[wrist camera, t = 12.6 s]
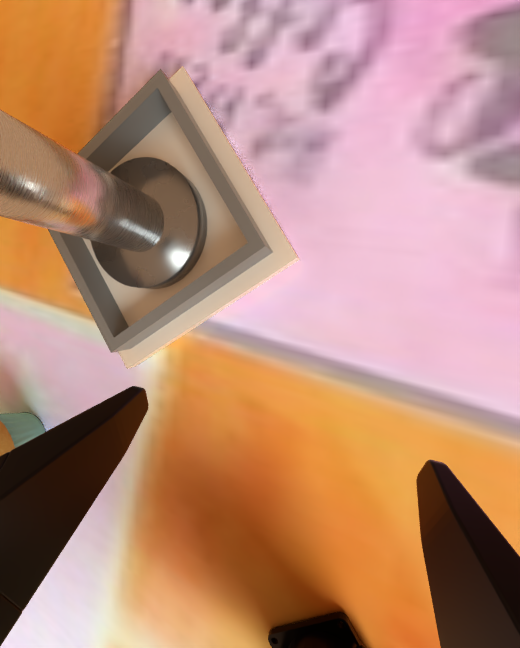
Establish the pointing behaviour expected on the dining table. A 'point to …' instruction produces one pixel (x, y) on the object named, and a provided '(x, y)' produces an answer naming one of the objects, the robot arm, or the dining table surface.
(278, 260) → the board
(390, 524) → the dining table surface
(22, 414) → the cupcake
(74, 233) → the flared base peg
